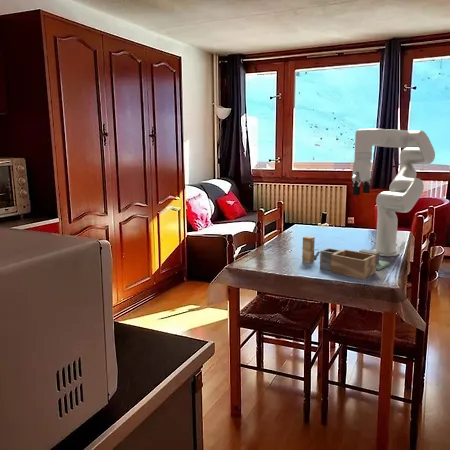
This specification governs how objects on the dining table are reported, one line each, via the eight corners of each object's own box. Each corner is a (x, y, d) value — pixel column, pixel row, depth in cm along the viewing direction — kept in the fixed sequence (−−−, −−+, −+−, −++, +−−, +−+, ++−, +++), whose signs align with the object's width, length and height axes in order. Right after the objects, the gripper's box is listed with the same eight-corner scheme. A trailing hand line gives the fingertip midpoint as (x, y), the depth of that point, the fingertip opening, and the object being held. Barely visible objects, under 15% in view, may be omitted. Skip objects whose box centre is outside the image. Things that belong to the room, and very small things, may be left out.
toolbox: (330, 263, 202) (331, 247, 201) (375, 272, 188) (376, 255, 186) (316, 269, 194) (317, 252, 192) (363, 279, 179) (363, 260, 177)
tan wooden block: (306, 260, 209) (307, 236, 206) (314, 261, 206) (314, 237, 204) (302, 261, 206) (302, 237, 204) (309, 263, 203) (310, 238, 201)
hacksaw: (316, 261, 209) (316, 258, 208) (294, 259, 212) (294, 256, 212) (321, 249, 231) (321, 246, 231) (302, 247, 234) (302, 245, 234)
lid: (346, 256, 214) (346, 244, 213) (389, 264, 199) (390, 251, 198) (334, 261, 206) (334, 248, 204) (378, 270, 191) (379, 257, 190)
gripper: (363, 155, 205) (362, 191, 208) (346, 157, 192) (344, 195, 196) (379, 156, 200) (377, 192, 203) (362, 157, 187) (360, 196, 191)
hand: (361, 194), depth 199 cm, fingers open, 9 cm apart
